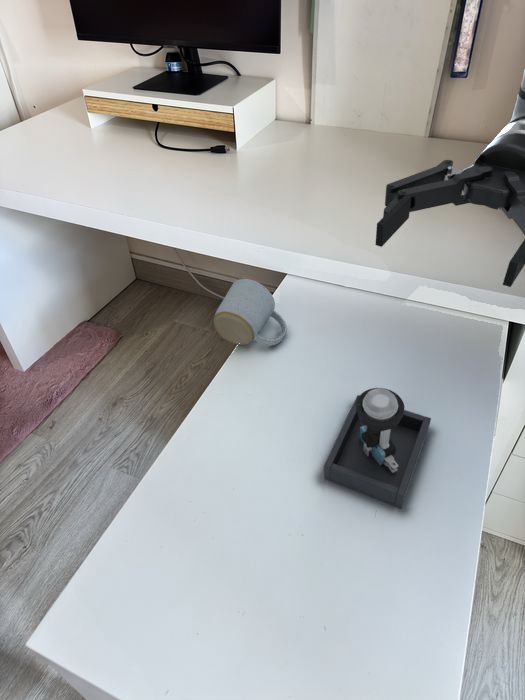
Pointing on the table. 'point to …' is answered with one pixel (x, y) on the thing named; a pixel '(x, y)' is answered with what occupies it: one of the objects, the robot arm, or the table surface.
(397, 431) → the tray
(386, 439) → the push button
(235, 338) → the ceramic mug
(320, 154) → the table surface
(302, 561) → the table surface
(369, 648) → the table surface
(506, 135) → the robot arm
